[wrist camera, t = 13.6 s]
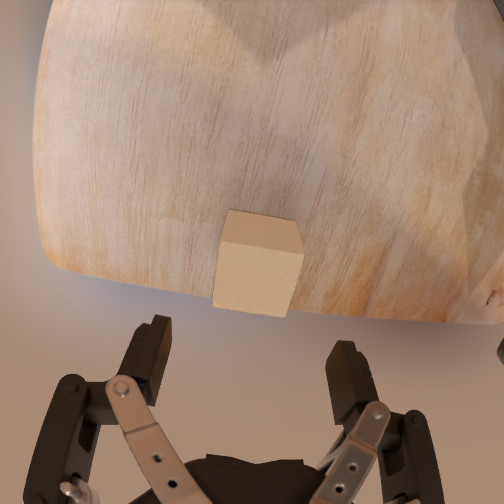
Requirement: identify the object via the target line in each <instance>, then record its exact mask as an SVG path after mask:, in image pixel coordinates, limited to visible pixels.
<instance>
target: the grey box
mask: <svg viewBox="0 0 504 504" xmlns="http://www.w3.org/2000/svg"><path fill="white" fill-rule="evenodd" d="M494 2H495V4H496V6H497V8H498V10H499V12H500V14H501V16H502V18H503V20H504V0H494Z"/></svg>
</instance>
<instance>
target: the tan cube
mask: <svg viewBox="0 0 504 504" xmlns="http://www.w3.org/2000/svg"><path fill="white" fill-rule="evenodd" d="M304 258H305V253H304V249H303V246H302V242H301V238H300V235H299V231H298V228H297V224H296V221H292V220H287V219H281V218H276V217H270V216H264V215H259V214H253V213H247V212H241V211H235V210H228V212H227V216H226V220H225V223H224V227H223V230H222V234H221V238H220V241H219V249H218V256H217V264H216V272H215V280H214V288H213V297H212V307H215V308H221V309H227V310H233V311H240V312H247V313H253V314H261V315H268V316H276V317H283V318H285V316H286V314H287V311H288V308H289V305H290V302H291V299H292V296H293V293H294V290H295V286H296V283H297V280H298V277H299V274H300V271H301V268H302V264H303V261H304Z"/></svg>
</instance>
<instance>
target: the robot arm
mask: <svg viewBox="0 0 504 504" xmlns="http://www.w3.org/2000/svg"><path fill="white" fill-rule="evenodd" d="M171 325H172V324H171V317H167V316H162V315H157V314H156V315H155V316H154V318H153V321H152V323H151V324H146V323H143V324H141V326H140V327H138V328H137V329H136V330H135V332H134V335H133V337H132V340H131V342H130V344H129V347H128V349H127V351H126V354H125V356H124V358H123V361H122V363H121V366H120V368H119V371H118V373H117V374H116V375H115V376H114V377H112V378H111V379H109V380H108V381H105V382H86V381H85V379H84V378H83V377H81V376H80V375H77V374H68V375H66V376H64V377H63V378H61V380H60V381H59V383H58V386H57V388H56V390H55V393H54V395H53V398H52V401H51V403H50V406H49V408H48V411H47V414H46V416H45V419H44V422H43V425H42V428H41V431H40V434H39V437H38V440H37V443H36V447H35V450H34V453H33V456H32V460H31V464H30V468H29V471H28V476H27V479H26V484H25V488H24V493H23V501H24V504H100V503H99V502H100V500H99V495H98V493H97V491H96V490H95V489H94V488H93V487H92V486H90V485H89V484H88V480H89V475H90V470H91V465H92V461H93V456H94V452H95V448H96V444H97V439H98V435H99V432H100V428H101V425H120V427H121V430H122V432H123V435H124V437H125V439H126V441H127V444H128V446H129V448H130V450H131V452H132V454H133V456H134V457H135V459H136V461H137V463H138V465H139V467H140V469H141V471H142V472H143V474H144V476H145V478H146V479H147V481H148V483H149V484H150V486H151V488H150V489H149V490H147V491H146V492H145V493H144V494H142V495H141V496H139V497H138V498H137V499H135V500H133V501H132V502H130V503H129V504H354V503H353V502H352V501H353V499H354V498H355V496H356V494H357V493H358V491H359V489H360V488H361V486H362V484H363V482H364V481H365V479H366V477H367V475H368V473H369V472H370V470H371V468H372V466H373V464H374V462H375V460H376V458H377V456H378V462H379V469H380V477H381V486H382V495H383V504H445V502H444V496H443V489H442V484H441V479H440V474H439V469H438V464H437V459H436V455H435V451H434V447H433V442H432V439H431V435H430V431H429V427H428V424H427V420H426V418H425V416H424V415H423V414H422V413H421V412H420V411H418V410H410V411H409V412H407V413H406V414H405V415H403V414H399V413H394V412H391V411H390V410H389V408H388V407H387V406H386V405H385V404H384V403H382V402H380V401H379V398H378V395H377V391H376V388H375V385H374V381H373V378H372V376H371V375H372V374H371V372H370V370H369V365H368V362H367V359H366V358H365V357H364V355H363V354H362V353H361V352H357V351H356V347H355V344H354V342H353V341H341V340H338V341H337V342H336V344H335V346H334V348H333V350H332V352H331V353H330V355H329V357H328V359H327V361H326V367H325V370H326V375H327V381H328V386H329V392H330V397H331V403H332V409H333V415H334V421H335V425H343V427H344V429H343V430H342V431H341V433H340V434H339V436H338V438H337V440H336V441H335V442H334V444H333V445H332V447H331V448H330V450H329V451H328V453H327V454H326V456H325V457H324V458H323V460H322V461H321V462H320V463H319V464H318V465H317V466H316V467H315V468H312V467H310V466H307V465H304V463H303V460H302V459H301V460H277V461H271V462H266V463H261V464H253V463H249V462H246V461H243V460H240V459H236V458H233V457H228V456H219V455H212V454H206V458H204V459H196V460H192V461H189V462H187V463H185V464H183V463H182V461H181V460H180V458H179V456H178V455H177V453H176V452H175V450H174V448H173V447H172V445H171V443H170V442H169V440H168V439H167V437H166V435H165V433H164V432H163V430H162V428H161V427H160V425H159V424H158V423H157V422H156V420H155V419H154V417H153V415H152V413H151V411H150V409H149V408H148V405H150V406H155V403H156V400H157V396H158V392H159V388H160V385H161V381H162V378H163V374H164V370H165V367H166V363H167V360H168V356H169V353H170V349H171V343H172V326H171ZM376 449H377V451H376Z"/></svg>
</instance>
